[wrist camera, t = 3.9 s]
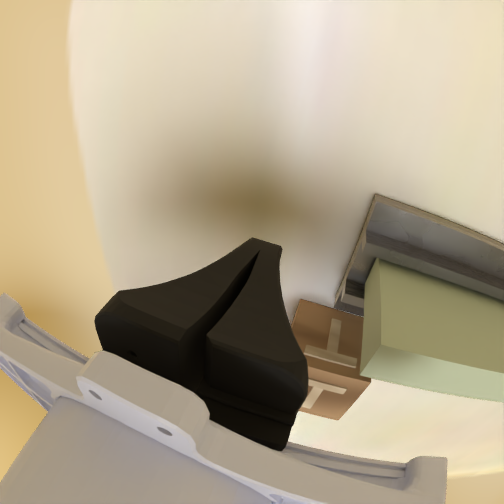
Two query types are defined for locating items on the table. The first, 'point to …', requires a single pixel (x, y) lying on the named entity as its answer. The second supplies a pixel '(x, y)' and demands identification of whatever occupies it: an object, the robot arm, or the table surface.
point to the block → (330, 358)
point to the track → (421, 252)
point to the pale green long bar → (432, 334)
